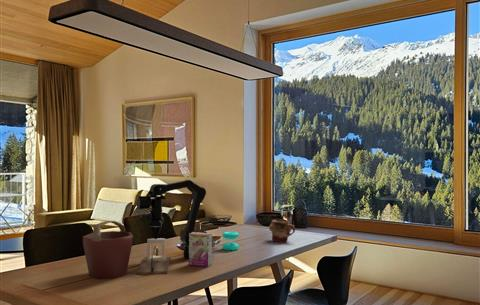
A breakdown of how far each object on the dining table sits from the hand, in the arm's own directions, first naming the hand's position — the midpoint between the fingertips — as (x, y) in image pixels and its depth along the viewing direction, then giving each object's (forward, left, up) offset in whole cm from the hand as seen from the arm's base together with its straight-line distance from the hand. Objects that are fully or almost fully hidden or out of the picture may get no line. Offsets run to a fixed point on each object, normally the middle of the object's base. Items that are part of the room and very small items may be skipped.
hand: (156, 237), depth 232 cm
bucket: (+21, +22, -13) cm, 33 cm away
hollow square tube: (0, 0, -12) cm, 12 cm away
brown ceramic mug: (-78, -50, -13) cm, 94 cm away
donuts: (-42, -29, -13) cm, 53 cm away
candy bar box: (-23, +9, -13) cm, 28 cm away
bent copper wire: (0, +9, -12) cm, 15 cm away
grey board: (0, +8, -13) cm, 15 cm away
